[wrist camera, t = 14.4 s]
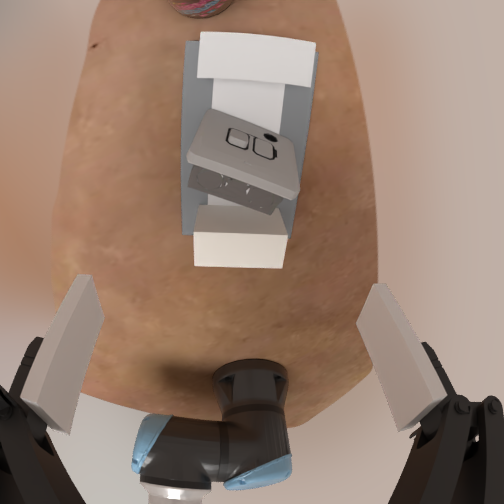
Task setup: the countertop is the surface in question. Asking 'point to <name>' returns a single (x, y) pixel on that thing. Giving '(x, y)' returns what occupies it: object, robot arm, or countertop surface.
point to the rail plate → (256, 112)
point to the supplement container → (199, 7)
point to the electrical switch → (242, 163)
